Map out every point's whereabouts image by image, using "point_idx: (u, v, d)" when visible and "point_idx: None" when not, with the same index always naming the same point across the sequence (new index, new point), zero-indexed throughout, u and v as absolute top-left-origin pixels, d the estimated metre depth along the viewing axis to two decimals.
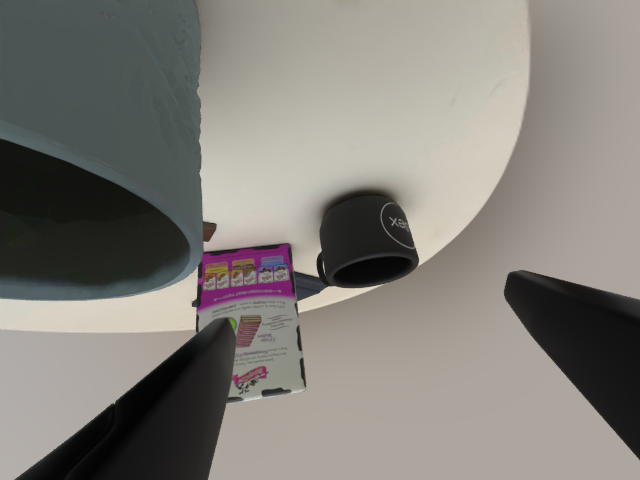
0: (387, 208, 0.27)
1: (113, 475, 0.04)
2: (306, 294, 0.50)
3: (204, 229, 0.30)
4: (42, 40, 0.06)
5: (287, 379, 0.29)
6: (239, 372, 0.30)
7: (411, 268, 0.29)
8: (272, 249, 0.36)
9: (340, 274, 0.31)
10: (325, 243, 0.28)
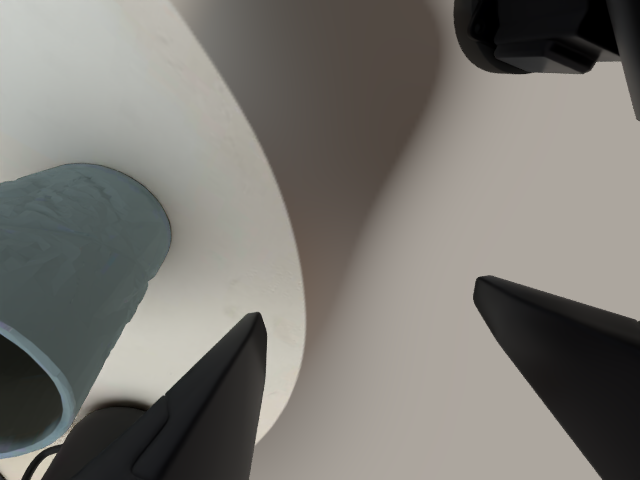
0: None
1: (178, 465, 0.04)
2: None
3: None
4: (100, 326, 0.12)
5: None
6: None
7: None
8: None
9: None
10: (73, 445, 0.26)
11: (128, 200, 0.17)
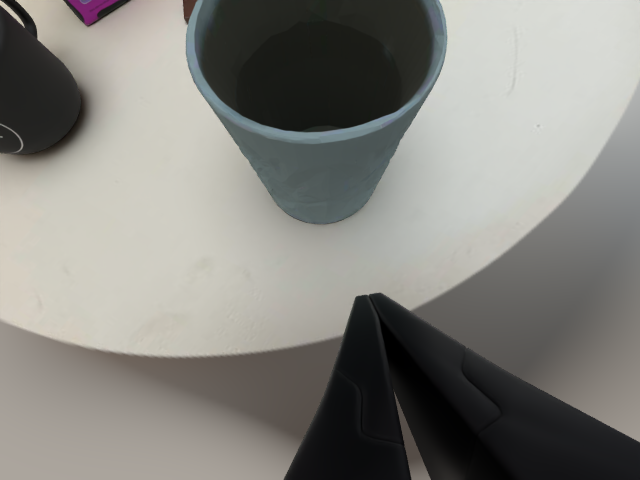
0: (15, 144, 0.22)
1: None
2: None
3: None
4: (314, 171, 0.13)
5: None
6: None
7: None
8: (102, 8, 0.27)
9: None
10: (48, 60, 0.21)
11: (361, 201, 0.20)
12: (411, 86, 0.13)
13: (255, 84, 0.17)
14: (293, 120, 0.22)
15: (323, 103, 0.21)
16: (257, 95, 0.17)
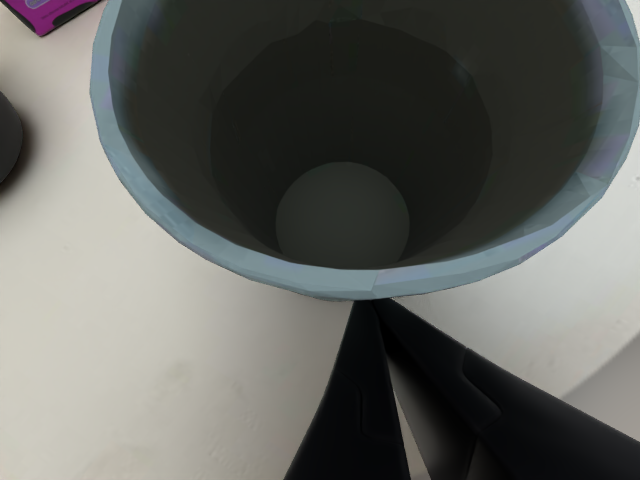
0: None
1: None
2: None
3: None
4: None
5: None
6: None
7: None
8: (59, 14, 0.21)
9: None
10: None
11: None
12: (523, 137, 0.07)
13: (246, 116, 0.11)
14: (302, 157, 0.16)
15: (344, 136, 0.15)
16: (249, 131, 0.12)
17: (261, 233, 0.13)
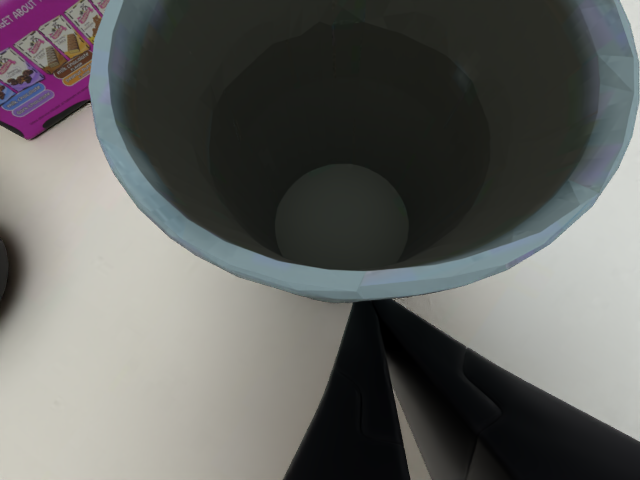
0: None
1: None
2: None
3: None
4: None
5: None
6: None
7: None
8: (50, 117, 0.19)
9: None
10: None
11: None
12: (520, 144, 0.07)
13: (247, 115, 0.11)
14: (303, 158, 0.16)
15: (345, 137, 0.15)
16: (250, 130, 0.12)
17: (259, 232, 0.13)
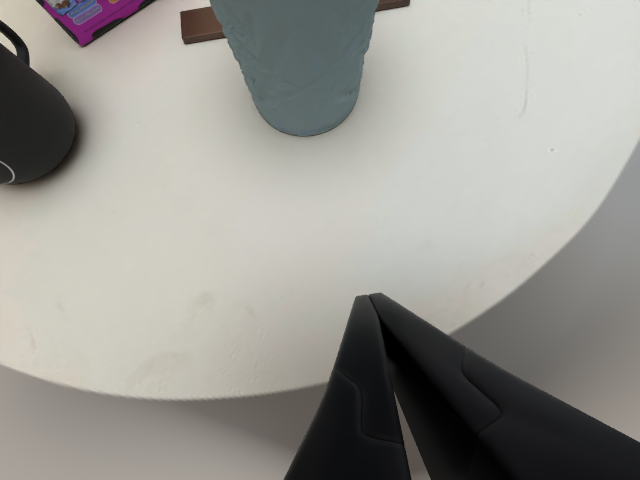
0: (7, 176, 0.21)
1: None
2: None
3: (193, 32, 0.26)
4: (283, 31, 0.14)
5: None
6: None
7: None
8: (97, 28, 0.26)
9: None
10: (40, 88, 0.20)
11: (339, 106, 0.21)
12: None
13: None
14: None
15: None
16: None
17: None
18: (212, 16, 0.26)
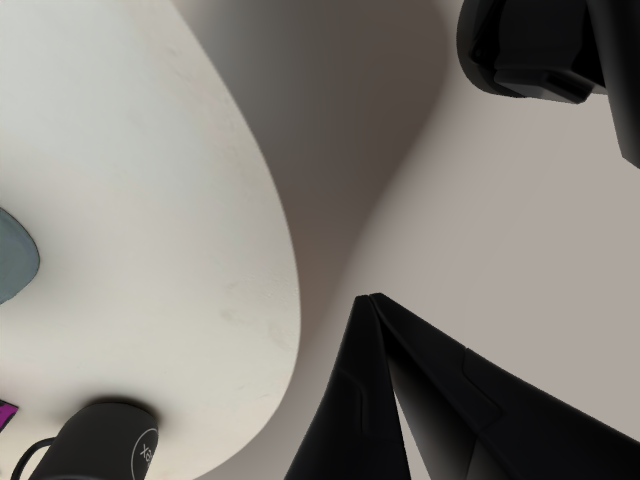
0: (148, 433, 0.30)
1: None
2: None
3: None
4: None
5: None
6: None
7: None
8: None
9: None
10: (66, 439, 0.26)
11: None
12: None
13: None
14: None
15: None
16: None
17: None
18: None
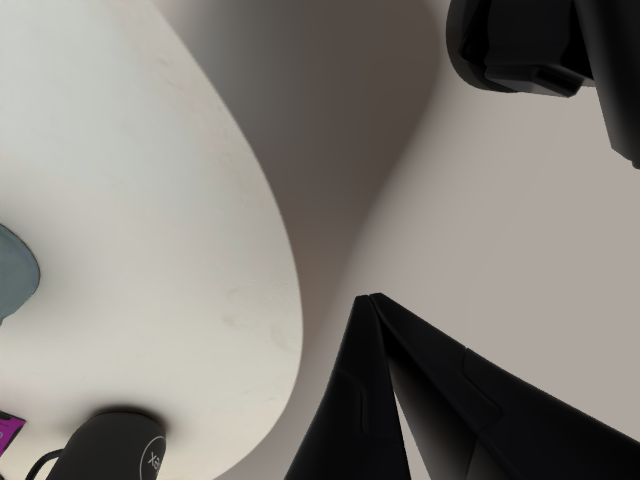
0: (156, 441, 0.30)
1: None
2: None
3: None
4: None
5: None
6: None
7: None
8: None
9: None
10: (74, 450, 0.27)
11: None
12: None
13: None
14: None
15: None
16: None
17: None
18: None
